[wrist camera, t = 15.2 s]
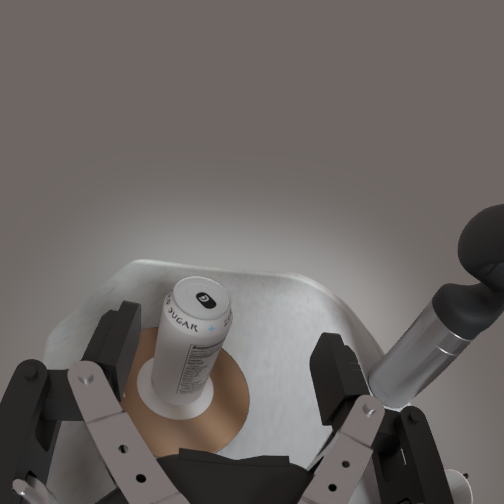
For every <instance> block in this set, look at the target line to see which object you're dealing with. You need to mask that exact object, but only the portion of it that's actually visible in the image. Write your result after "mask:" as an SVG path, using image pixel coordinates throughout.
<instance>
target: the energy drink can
mask: <svg viewBox="0 0 504 504" xmlns="http://www.w3.org/2000/svg"><path fill="white" fill-rule="evenodd" d="M230 306H231V298H230V295H229V293H228V291H227V290H226V289H225V288H224V287H223V286H222V285H221V284H219V283H218V282H216V281H214V280H212V279H210V278H207V277H202V276H189V277H185V278H183V279H181V280H180V281H178V282H177V283H176V285H175V286H174V289H173V290H172V291H170V292H169V293H168V294H167V296H166V297H165V299H164V301H163V307H162V312H161V318H160V324H159V330H158V336H157V342H156V348H155V354H154V361H153V368H152V375H151V385H152V387H153V390H154V391H155V393H156V394H157V395H158V396H159V397H160V398H161V399H162V400H164V401H166V402H168V403H170V404H173V405H187V404H191V403H193V402H195V401H196V400H197V399H198V398H199V397H200V396H201V394H202V392H203V389H204V387H205V385H206V382H207V380H208V378H209V375H210V373H211V371H212V368H213V366H214V364H215V361H216V359H217V357H218V354H219V352H220V350H221V347H222V345H223V342H224V340H225V338H226V335H227V333H228V331H229V328H230V326H231V324H232V319H233V316H232V310H231V307H230Z"/></svg>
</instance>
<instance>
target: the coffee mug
mask: <svg viewBox="0 0 504 504" xmlns="http://www.w3.org/2000/svg"><path fill="white" fill-rule="evenodd" d="M444 471H445V474H446V477H447V481H448V484H449V487H450V491H451V494H452V497H453V501H454V504H473V495H472V490H471V487H470V485H469V483H468V481H467V478H468V474H467V473H466V474H463V475H462V474H461V473H460V472H458V471H456V470H453V469H445V470H444Z"/></svg>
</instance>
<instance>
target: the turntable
mask: <svg viewBox="0 0 504 504" xmlns="http://www.w3.org/2000/svg"><path fill="white" fill-rule="evenodd" d="M158 330H159V327H157V328H149V329H144V330H141V333H140V340H139V344H138V347H137V350H136V354H135V357H134V360H133V363H132V367H131V370H130V373H129V377H128V380H127V383H126V387H125V390H124V394H123V397H122V401H121V402H118V403H119V405H120V406H121V408H122V410H123V411H126V412H127V414H128V415H129V417H130V418H131V420H132V422H133V424H134V425H135V427H136V429H137V430H138V432H139V434H140V435H141V437H142V439H143V440H144V442H145V443H146V445H147V447H148V448H149V450H150V451H151V453H152V454H153V456H154V457H157V458H160V457H163V456H167V455H172V454H179V448H185V449H192V450H200V451H207V452H210V453H213V454H214V453H216V452H218V451H220V450H221V449H222V448H224V447H225V446H227V445H228V444H229V443H230V442H231V441H232V440H233V439H234V437H235V436H236V435H237V434H238V432H239V431H240V430H241V428H242V427H243V425H244V423H245V421H246V418H247V415H248V411H249V404H250V396H249V389H248V385H247V382H246V379H245V377H244V374H243V372H242V371H241V369H240V367H239V366H238V364H237V363H236V362H235V360H234V359H233V358H232V357H231V356H230V355H229V354H228V353H227V352H226V351H225V350H224V349H223V348H221V350H220V352H219V354H218V357H217V359H216V361H215V364H214V366H213V368H212V371H211V373H210V375H209V378H208V380H207V382H206V385H205V387H204V389H203V392H202V394H201V396H200V397H199V398H198V399H197V400H196V401H195V402H193V403H191V404H187V405H173V404H170V403H168V402H166V401H164V400H162V399H161V398H160V397H159V396H158V395H157V394H156V393H155V391H154V390H153V387H152V385H151V375H152V368H153V361H154V354H155V348H156V342H157V336H158Z"/></svg>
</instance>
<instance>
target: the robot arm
mask: <svg viewBox="0 0 504 504" xmlns="http://www.w3.org/2000/svg"><path fill="white" fill-rule="evenodd" d="M458 257H459V260H460V263H461V264H462V266H463V267H464V269H465V270H466V271H467V272H468V273H470V274H471V275H473V277H475V278H476V279H478V280H479V281H481V282H480V283H479V284H475V285H468V286H467V285H457V284H452V283H450V284H449V283H448V284H445V285H443V286H442V287H441V288H440V289H439V290H438V291H437V293H436V294H435V295H434V297H433V298H432V299H431V300H430V302H429V303H428V304H427V306H426V307H425V308H424V310H423V311H422V312H421V314H420V315H419V316H418V317H417V319H416V320H415V321H414V322H413V324H412V325H411V326H410V327H409V328H408V330H407V331H406V332H405V333H404V334H403V336H402V337H401V338H400V339H399V340H398V341H397V343H396V344H395V345H394V346H393V347H392V348H391V349H390V350H389V352H388V353H387V354H386V355H385V356H384V357H383V358H382V359H381V360H380V361H379V362H378V363H377V365H376V366H375V367H374V368H373V369H372V370H371V372H370V374H369V385H370V388H371V390H372V392H373V394H374V395H375V396H376V397H374V396H371V395H370V392H369V390H368V387H367V384H366V381H365V379H364V376H363V373H362V371H361V368H360V365H359V364H358V360H357V358H356V355H355V353H354V352H353V351H352V350H351V348H350V347H349V346H347V345H344V343H343V340H342V338H341V335H340V334H335V333H325V332H324V333H322V334H321V336H320V338H319V340H318V342H317V344H316V346H315V349H314V351H313V353H312V355H311V357H310V364H309V365H310V371H311V376H312V380H313V385H314V389H315V393H316V398H317V402H318V407H319V411H320V416H321V420H322V425H323V426H328V425H332V429H333V430H332V431H331V433H330V434H329V436H328V437H327V439H326V441H325V442H324V444H323V445H322V447H321V448H320V450H319V452H318V453H317V455H316V456H315V458H314V459H313V461H312V462H311V463H310V465H309V466H308V467H307V468H306V469H305V468H303V467H301V466H298V465H296V464H293V463H290V462H289V456H265V455H263V456H258V457H252V458H246V459H240V460H233V459H229V458H226V457H223V456H220V455H217V454H213V453H210V452H207V451H200V450H192V449H185V448H179V454H172V455H167V456H163V457H160V458H157V459H155V458H154V456H153V454H152V453H151V451H150V450H149V448H148V447H147V445H146V443H145V442H144V440H143V439H142V437H141V435H140V434H139V432H138V430H137V429H136V427H135V425H134V424H133V422H132V420H131V418H130V417H129V415H128V414H127V412H126V411H123V410H122V408H121V406H120V405H119V403H118V402H121V401H122V397H123V394H124V390H125V387H126V383H127V380H128V377H129V373H130V370H131V367H132V363H133V360H134V357H135V354H136V350H137V347H138V344H139V340H140V333H141V305H140V304H138V303H133V302H129V301H123V302H122V304H121V306H120V309H119V311H114V310H109V311H108V312H107V313H106V314H104V315H103V316H102V317H101V319H100V321H99V323H98V327H97V328H96V330H95V332H94V334H93V336H92V338H91V340H90V342H89V344H88V347H87V349H86V351H85V353H84V355H83V358H82V359H81V361H79V362H77V363H75V364H73V365H72V366H71V367H70V369H66V370H47V368H46V366H45V365H44V364H43V363H42V362H40V361H38V360H34V359H29V360H26V361H23V362H21V363H20V364H19V365H18V366H17V368H16V370H15V372H14V374H13V376H12V378H11V380H10V383H9V385H8V387H7V389H6V391H5V394H4V396H3V398H2V401H1V403H0V504H58V502H57V499H56V497H55V496H54V494H53V493H52V492H51V491H50V490H49V489H48V488H47V487H46V483H47V478H48V473H49V469H50V464H51V460H52V456H53V452H54V448H55V444H56V440H57V436H58V433H59V429H60V426H61V422H62V421H83V422H84V424H85V427H86V429H87V431H88V433H89V435H90V437H91V440H92V442H93V444H94V446H95V448H96V450H97V452H98V454H99V456H100V458H101V460H102V462H103V464H104V466H105V468H106V470H107V472H108V473H109V475H110V477H111V479H112V481H113V482H114V484H115V486H116V487H117V488H116V489H114V490H113V491H112V492H110V493H109V494H108V495H106V496H105V497H103V498H102V499H101V500H99V501H98V502H97V503H95V504H347V503H348V502H349V500H350V498H351V496H352V494H353V492H354V490H355V488H356V486H357V484H358V482H359V480H360V478H361V476H362V474H363V472H364V470H365V468H366V466H367V464H368V462H369V460H370V457H371V455H372V460H373V464H374V469H375V473H376V478H377V483H378V488H379V493H380V498H381V503H382V504H454V501H453V497H452V494H451V491H450V487H449V484H448V481H447V477H446V474H445V471H444V468H443V465H442V462H441V459H440V456H439V453H438V450H437V447H436V444H435V441H434V439H433V436H432V433H431V430H430V428H429V425H428V422H427V419H426V417H425V415H424V413H423V412H422V411H421V410H420V409H418V408H417V407H414V406H406V407H404V406H405V405H406V404H407V403H409V402H410V401H411V400H412V399H413V398H414V397H416V396H417V395H418V394H419V393H420V392H422V391H423V390H424V389H425V388H426V387H427V386H428V385H429V384H430V383H431V382H433V381H434V380H435V379H436V378H437V377H438V376H439V375H440V374H441V373H442V372H443V371H444V370H445V369H446V368H447V367H448V366H449V365H450V364H451V363H452V362H453V361H454V360H455V359H456V358H457V357H458V356H459V355H460V354H461V353H462V352H463V351H464V349H466V347H467V346H468V345H469V344H470V343H471V342H472V341H473V340H474V339H475V338H476V336H477V335H478V334H479V333H480V332H482V331H484V330H485V329H487V328H488V327H490V326H491V325H492V324H493V323H494V322H495V320H496V319H497V318H498V317H499V316H500V315H501V314H502V313H503V311H504V204H501V205H496V206H492V207H489V208H486V209H484V210H483V211H481V212H479V213H478V214H477V215H476V216H474V217H473V218H472V219H471V220H470V221H469V222H468V224H467V225H466V226H465V228H464V230H463V231H462V233H461V236H460V239H459V243H458ZM381 402H382V403H383V404H385V405H386V406H389V407H391V408H401V407H404V408H403V409H402V410H401V411H400V412H397V411H393V410H389V409H385V408H384V406H383V404H382V403H381ZM401 449H402V450H403V453H404V457H405V461H406V465H405V462H404V458H403V454H402V451H401Z"/></svg>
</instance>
